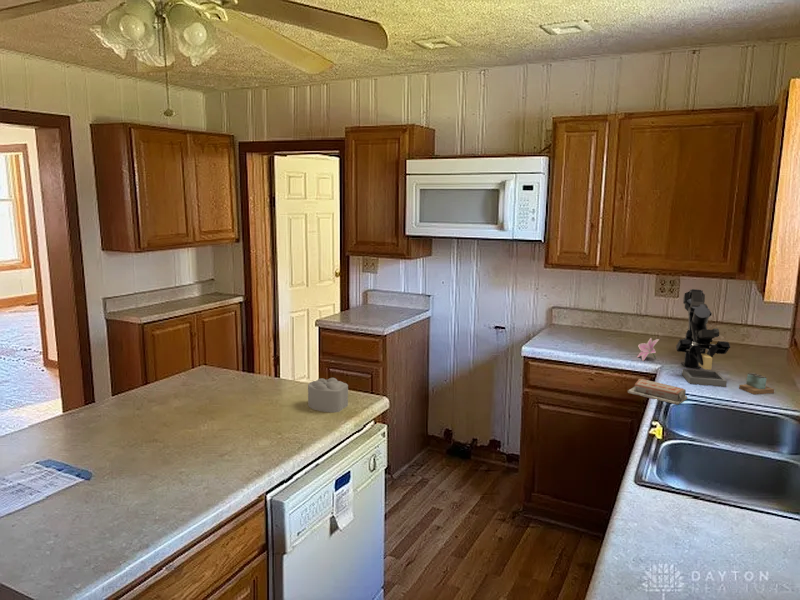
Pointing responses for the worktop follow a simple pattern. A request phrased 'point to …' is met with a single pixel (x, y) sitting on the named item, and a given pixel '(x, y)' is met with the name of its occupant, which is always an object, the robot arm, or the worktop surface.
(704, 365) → the stub
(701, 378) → the stub tray
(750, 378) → the ticket holder
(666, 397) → the packaged product
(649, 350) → the lily
